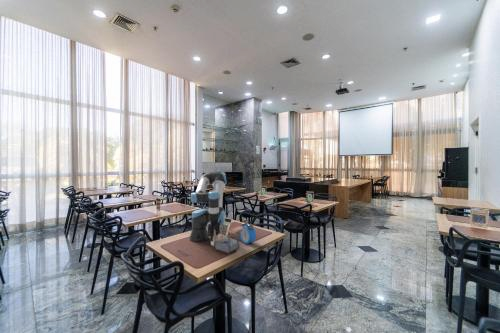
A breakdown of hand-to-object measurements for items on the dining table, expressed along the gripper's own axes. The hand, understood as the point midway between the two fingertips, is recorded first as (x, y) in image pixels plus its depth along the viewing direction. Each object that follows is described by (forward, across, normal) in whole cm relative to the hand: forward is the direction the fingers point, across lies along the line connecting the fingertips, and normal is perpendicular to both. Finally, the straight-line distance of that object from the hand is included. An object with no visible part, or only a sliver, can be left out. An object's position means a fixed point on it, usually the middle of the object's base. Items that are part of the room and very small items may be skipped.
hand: (214, 244), depth 157 cm
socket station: (+2, +3, -12) cm, 12 cm away
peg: (+2, 0, 0) cm, 2 cm away
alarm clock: (+2, +19, -17) cm, 26 cm away
